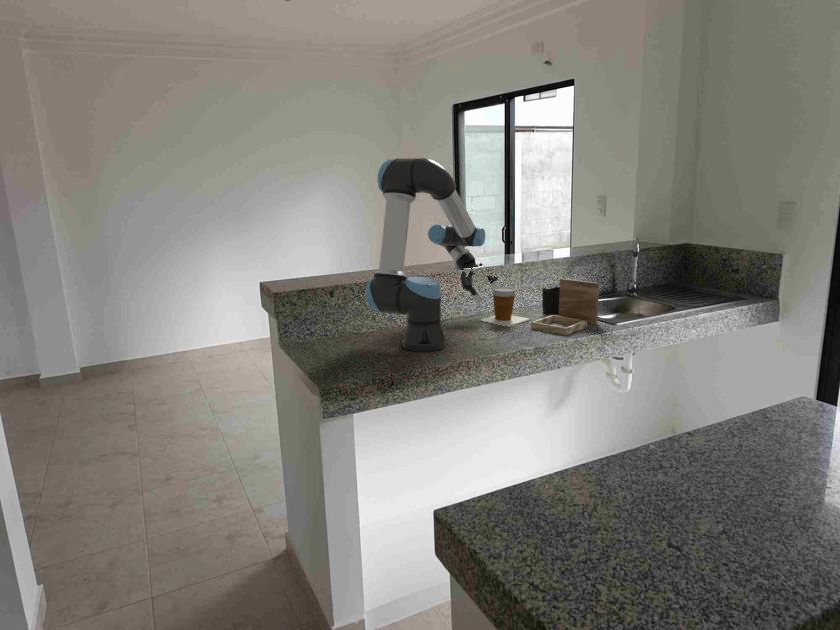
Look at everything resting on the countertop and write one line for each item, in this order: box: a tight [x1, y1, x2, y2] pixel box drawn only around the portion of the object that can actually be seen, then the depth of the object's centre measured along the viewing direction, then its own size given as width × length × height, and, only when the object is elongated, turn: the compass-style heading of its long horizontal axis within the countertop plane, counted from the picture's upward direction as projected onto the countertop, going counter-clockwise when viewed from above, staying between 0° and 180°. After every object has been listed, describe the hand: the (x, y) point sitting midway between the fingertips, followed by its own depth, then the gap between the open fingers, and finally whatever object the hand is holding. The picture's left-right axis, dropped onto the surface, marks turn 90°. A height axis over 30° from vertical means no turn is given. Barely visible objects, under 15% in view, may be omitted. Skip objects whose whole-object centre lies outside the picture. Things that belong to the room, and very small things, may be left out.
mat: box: [480, 315, 531, 328], centre depth 242 cm, size 14×14×1 cm
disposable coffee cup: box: [491, 286, 517, 321], centre depth 241 cm, size 10×10×12 cm
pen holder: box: [541, 286, 560, 315], centre depth 253 cm, size 9×9×10 cm
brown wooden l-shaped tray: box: [530, 278, 600, 336], centre depth 230 cm, size 22×16×16 cm
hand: (491, 298), depth 244 cm, fingers open, 13 cm apart
